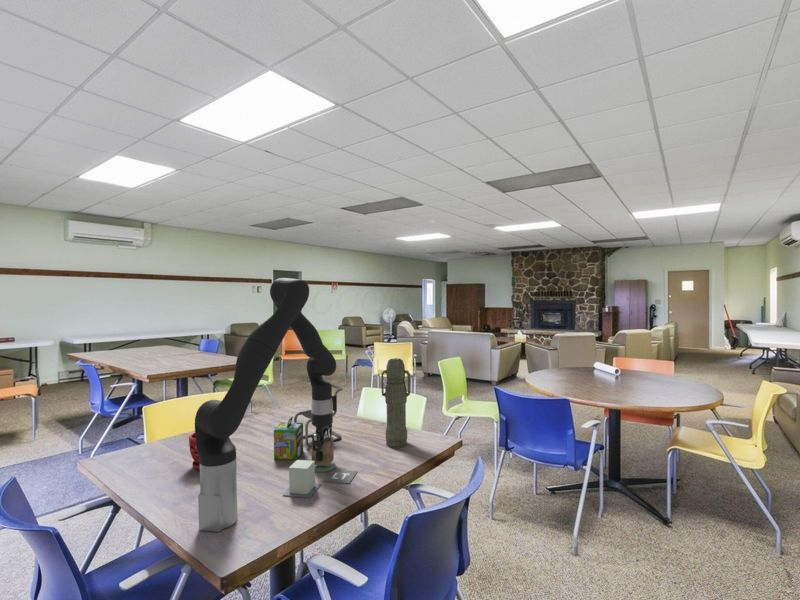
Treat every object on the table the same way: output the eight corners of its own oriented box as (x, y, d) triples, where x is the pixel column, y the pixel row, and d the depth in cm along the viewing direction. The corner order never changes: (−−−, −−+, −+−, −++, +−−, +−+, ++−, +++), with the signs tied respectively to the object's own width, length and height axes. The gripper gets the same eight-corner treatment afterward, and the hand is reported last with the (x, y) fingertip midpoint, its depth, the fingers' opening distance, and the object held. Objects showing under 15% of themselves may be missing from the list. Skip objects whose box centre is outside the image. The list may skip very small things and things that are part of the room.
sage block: (307, 494, 128) (307, 468, 128) (289, 492, 130) (289, 467, 129) (315, 485, 134) (314, 460, 134) (297, 484, 135) (297, 459, 135)
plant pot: (236, 459, 157) (235, 428, 157) (211, 474, 144) (211, 440, 144) (207, 456, 161) (206, 425, 160) (181, 470, 148) (180, 437, 148)
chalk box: (281, 450, 166) (280, 413, 165) (304, 450, 165) (303, 413, 165) (273, 460, 156) (272, 421, 156) (297, 460, 156) (296, 421, 156)
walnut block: (327, 465, 146) (327, 443, 146) (311, 464, 147) (311, 442, 147) (333, 459, 152) (333, 437, 152) (318, 458, 153) (317, 436, 153)
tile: (349, 483, 136) (349, 482, 136) (323, 481, 138) (323, 480, 138) (357, 472, 145) (357, 471, 145) (332, 470, 146) (332, 469, 146)
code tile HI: (310, 498, 127) (310, 497, 127) (282, 495, 128) (282, 494, 128) (321, 484, 136) (321, 483, 136) (295, 482, 137) (295, 481, 137)
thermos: (411, 447, 167) (410, 360, 166) (382, 448, 167) (381, 361, 166) (410, 439, 176) (409, 357, 175) (382, 440, 175) (381, 357, 175)
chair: (344, 439, 177) (343, 388, 177) (306, 448, 167) (305, 394, 167) (330, 431, 188) (330, 382, 188) (294, 439, 178) (293, 388, 177)
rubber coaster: (330, 472, 144) (330, 471, 144) (306, 471, 146) (306, 470, 146) (339, 462, 153) (339, 461, 153) (316, 460, 155) (316, 459, 155)
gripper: (324, 417, 141) (325, 466, 142) (338, 405, 156) (339, 450, 156) (304, 416, 143) (304, 464, 143) (319, 405, 157) (320, 449, 157)
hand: (322, 457), depth 150 cm, fingers closed on walnut block, 6 cm apart
